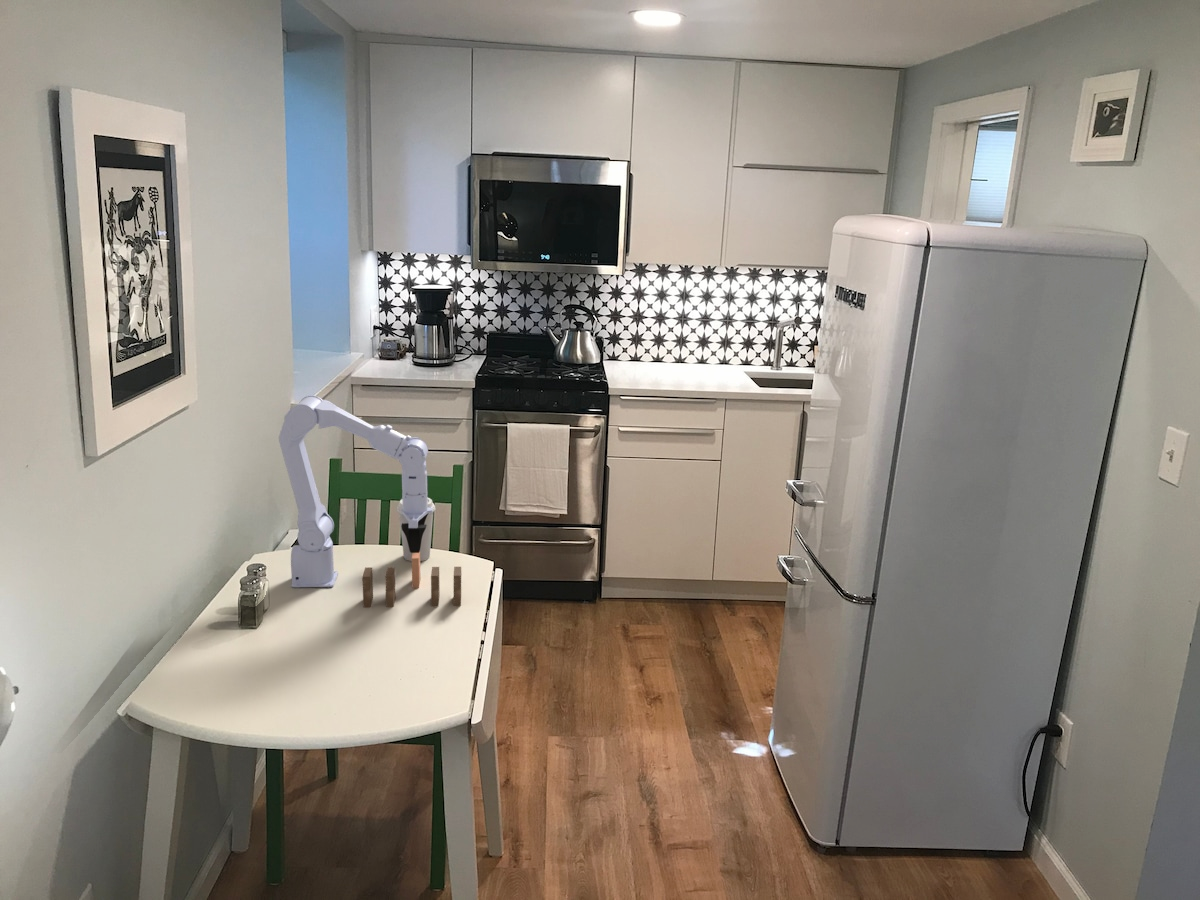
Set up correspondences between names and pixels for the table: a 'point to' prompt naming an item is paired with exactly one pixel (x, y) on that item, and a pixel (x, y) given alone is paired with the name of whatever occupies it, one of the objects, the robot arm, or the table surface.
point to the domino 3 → (415, 570)
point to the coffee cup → (425, 538)
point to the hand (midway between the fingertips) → (416, 545)
